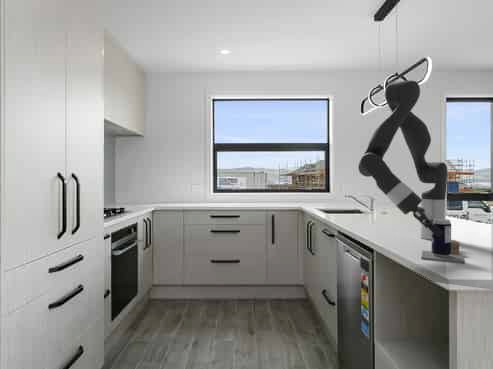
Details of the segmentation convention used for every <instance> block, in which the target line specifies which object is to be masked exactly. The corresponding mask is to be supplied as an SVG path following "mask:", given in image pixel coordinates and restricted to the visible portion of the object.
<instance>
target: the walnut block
mask: <svg viewBox="0 0 493 369" xmlns="http://www.w3.org/2000/svg"><path fill="white" fill-rule="evenodd" d="M451 253H454V254H460V242H459V241H457V240H456V239H451Z"/></svg>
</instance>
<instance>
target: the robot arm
mask: <svg viewBox="0 0 493 369" xmlns="http://www.w3.org/2000/svg"><path fill="white" fill-rule="evenodd" d="M420 94H421V88H420V85H419V82H417V81H416V80H403V81H394V82H390V83H388V84H387V86H386V87H385V90H384V97H385V100H386V103H387V106H388V108H389V110H390V111H391V113H390V114H389V115H388V116H386V118H385V119H384V120H382V121H381V123H379V124H378V126H376V128H375V130H374V132H373V134H372V135H371V138H370V141H369V142H368V146H367V149H366V150H365V152H364V153H363V155H362V157H361V158H360V160H359V163H358V171H359V173H360V174H361V175H362V176H363V177H368V178H369V177H371V178H373V179H374V180H375V183H376V184H375V185H376V187H377V188H378V189H379V190H380V191H381V192H383V193H384V195H386V197H387V198H388V199H389V201H390V202H391V203H393V204H394V206H395V207H396V208H397V209H399V210H400V211H401V213H403V215H408V214H409V213H411V212H412V216H413V217H414V218H415V219H416V220H417V221H418V222H419V223H420V238H421V239H424V240H431V241H432V232H433V233H434V234H435V235H436V236H437V237H439V236H441V235H442V234H443V232H442V231H441V230H440V229H439V228H438V227H437V226H436V225H435V224H434V222H433V219H446V194H447V182H448V166H447V164H446V163H445V162H442V161H441V162H439V161H436V162H433V161H432V162H427V161H426V157H425V156H426V154H427V151H428V150H429V147H430V145H431V142H432V139H431V138H432V137H431V133H430V131H429V128H428V126H427V125H426V124H425V122H424V121H423V120H422V119H420V118H419V117H418V116H417V115H416V114H414V113H413V112H412V110H413V108H414V107H415V106H416V104H417V103H418V100H419V99H420ZM399 129H400V130H401V133H402V136H403V138H404V141H405V143H406V145H407V148H408V150H409V153H410V155H411V157H412V159H413V163H414V168H415V171H416V175H417V178H418V180H419V181H420V182H421V183H423V184H433V185H434V187H432V188H431V189H428V190H426V191H423V192H422V193H421V197H420V196H419V195H418V194H416V193H415V192H414V191H413V189H411V188H410V187H409V186H408V185H407V184H406V183H404V182H403V181H402V180H400V178H398V176H396V175H395V174H394V173H393V172H392V171H391V169H390V167H389V165H387V163H386V162H385V161H384V159H383V158H384V156H385V154H386V153H387V151H388V149H389V148H390V146H391V143H392V141H393V140H394V137H395V135H396V134H397V132H398V130H399ZM420 204H421V206H419V205H420Z"/></svg>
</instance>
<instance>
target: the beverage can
mask: <svg viewBox="0 0 493 369" xmlns="http://www.w3.org/2000/svg"><path fill="white" fill-rule="evenodd" d="M433 222H434V224H435V225H436V226H437V227H438V228H439V229H440V230H441V231H442V232H443V234H442V235H441V236H439V237H437V236H436V235H435V234H434V233H433V232H432V240H431V251H432V253H433V254H434V255H435V256H439V257H448V256H449V255H450V254H451V240H452V223H451V220H450V219H447V218H445V219H433Z"/></svg>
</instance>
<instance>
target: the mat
mask: <svg viewBox="0 0 493 369" xmlns="http://www.w3.org/2000/svg"><path fill="white" fill-rule="evenodd" d="M420 257H421V260H428V261H439V262H446V263H456V264H465V260H464V256H463V254H461V253H459V254H454V253H451V254H450V255H449V256H448V257H439V256H435V255H434V254H433V253H432V250H431V251H430V250H422V251H421V256H420Z"/></svg>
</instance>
